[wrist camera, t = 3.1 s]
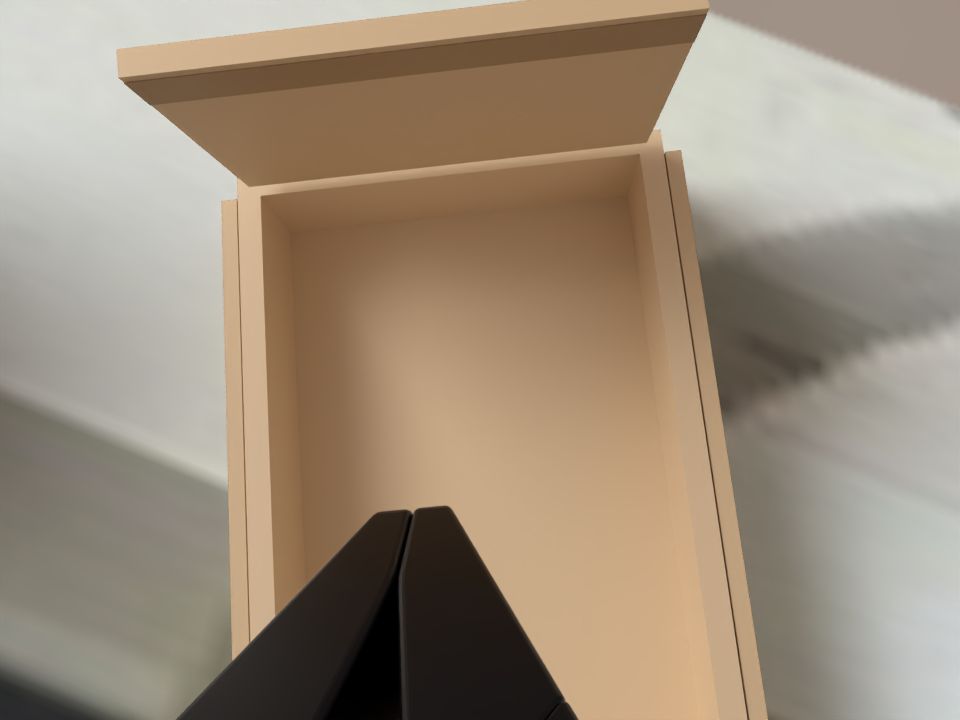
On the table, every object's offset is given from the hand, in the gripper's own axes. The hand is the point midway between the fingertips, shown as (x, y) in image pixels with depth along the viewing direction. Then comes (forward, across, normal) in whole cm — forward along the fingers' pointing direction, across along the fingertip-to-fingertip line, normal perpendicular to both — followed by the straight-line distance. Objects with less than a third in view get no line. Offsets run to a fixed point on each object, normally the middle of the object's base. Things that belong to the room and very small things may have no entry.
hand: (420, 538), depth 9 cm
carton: (+10, 0, -9) cm, 13 cm away
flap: (+14, 0, 0) cm, 14 cm away
